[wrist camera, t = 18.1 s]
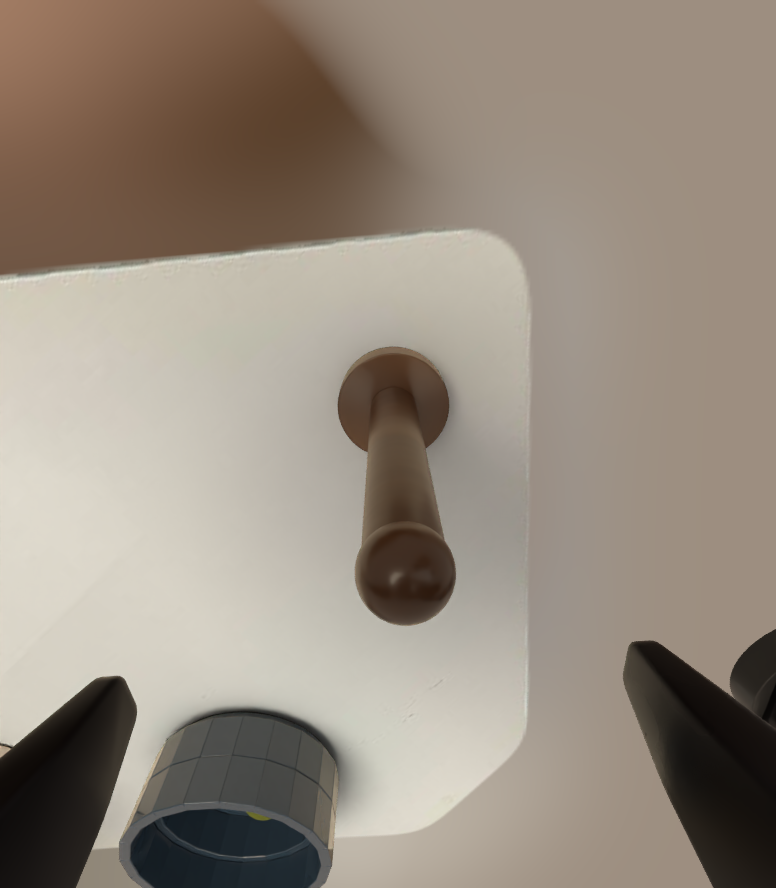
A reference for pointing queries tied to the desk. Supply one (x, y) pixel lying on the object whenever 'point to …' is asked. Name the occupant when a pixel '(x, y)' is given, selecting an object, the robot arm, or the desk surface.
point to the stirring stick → (398, 484)
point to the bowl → (235, 808)
